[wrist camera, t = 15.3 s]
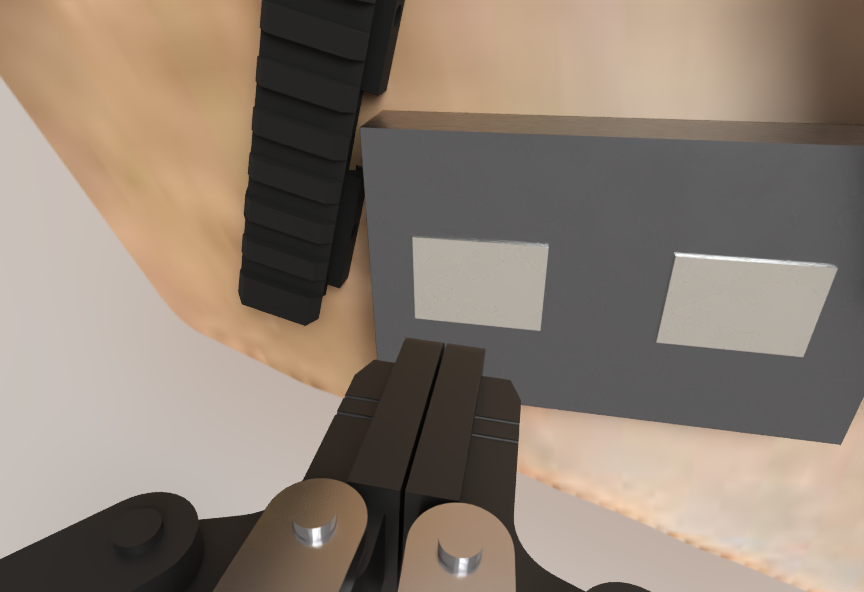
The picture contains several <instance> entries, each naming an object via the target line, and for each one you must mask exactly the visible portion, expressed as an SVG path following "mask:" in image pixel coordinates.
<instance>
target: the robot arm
mask: <svg viewBox="0 0 864 592" xmlns="http://www.w3.org/2000/svg"><path fill="white" fill-rule="evenodd" d="M485 352H486V349H484V348H477V347H470V346H464V345H457V344H450V343H447V345H446V348H445V343H442V342H435V341H428V340H421V339H414V338H407V337H406V338H405V340H404V342H403V345H402V347H401V350H400V352H399V354H398V357H397V359H396V362H395V363H393V362H387V361H380V360H373V361H372V362H371V363H369V364H368V365H367V366H366V367H364V368H363V369H362V370H360V371H359V372H358V373H357V374H355V376H354V378H353V380H352V382H351V384H350V386H349V388H348V390H347V392H346V394H345V398H343V400H342V402H341V405H340V406H339V408H338V410H337V415H335V416H334V418H333V420H332V422H331V424H330V426H329V429H328V431H327V433H326V435H325V437H324V439H323V441H322V443H321V445H320V447H319V449H318V451H317V453H316V455H315V457H314V459H313V461H312V463H311V465H310V467H309V469H308V471H307V473H306V475H305V477H304V479H303V480H302V481H301V482H298V483H295V484H293V485H291V486H289V487H287V488H285V489H284V490H283V491H281V492H280V493H279V494H277V496H276V497H274V498H273V499H272V501H271V502H270V503H269V504H268V506H267V507H266V509H265V510H263V511H260V512H256V513H253V514H247V515H241V516H231V517H223V518H211V519H201V520H198V516H197V512H196V510H195V508H194V507H193V505H192V504H191V503H190V502H189V501H188V500H186V499H185V498H183V497H181V496H179V495H177V494H172V493H166V492H152V493H146V494H141V495H137V496H134V497H131V498H129V499H126V500H124V501H121V502H119V503H117V504H115V505H113V506H111V507H109V508H107V509H105V510H103V511H100V512H98V513H96V514H94V515H92V516H90V517H88V518H86V519H84V520H82V521H79V522H78V523H75V524H73V525H71V526H69V527H67V528H65V529H63V530H61V531H58V532H56V533H54V534H52V535H50V536H48V537H46V538H44V539H42V540H40V541H38V542H35V543H33V544H31V545H29V546H27V547H25V548H23V549H21V550H19V551H16V552H14V553H12V554H10V555H8V556H6V557H4V558H2V559H0V592H585V591H583V590H581V589H579V588H577V587H576V586H574V585H572V584H570V583H567V582H566V581H564V580H562V579H560V578H558V577H556V576H555V575H553V574H551V573H550V572H548V571H546V570H545V569H544V568H542V567H541V566H540V565H538V564H537V563H536V562H535V561H534V560H533V559H532V558H531V557H530V556H529V554H528V553H527V552H526V551H525V549H524V548H523V546H522V545H521V543H520V541H519V539H518V536H517V534H516V531H515V526H514V503H515V487H516V471H517V456H518V440H519V423H520V409H521V399H520V397H519V395H518V394H517V392H516V390H515V388H514V386H513V384H512V382H511V380H507V379H500V378H493V377H487V376H483V369H484V361H485ZM586 592H650V591H648V590H646V589H644V588H641V587H639V586H636V585H632V584H628V583H622V582H608V583H603V584H600V585H597V586H594V587H592V588H591V589H589V590H588V591H586Z"/></svg>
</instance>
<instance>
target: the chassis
mask: <svg viewBox="0 0 864 592" xmlns="http://www.w3.org/2000/svg"><path fill="white" fill-rule="evenodd" d="M360 136H361V149H362V162H363V176H364V189H365V202H366V216H367V229H368V242H369V255H370V269H371V282H372V295H373V308H374V322H375V335H376V348H377V360H380V361H387V362H393V363H395V362H396V359H397V357H398V354H399V352H400V350H401V347H402V345H403V342H404V340H405V338H406V337H407V338H414V339H421V340H428V341H435V342H442V343H445V348H446V345H447V343H450V344H457V345H464V346H470V347H477V348H484V349H486V352H485V361H484V369H483V376H487V377H493V378H500V379H507V380H511V382H512V384H513V386H514V388H515V390H516V392H517V394H518V395H519V397H520V399H521V405H526V406H534V407H542V408H550V409H558V410H566V411H574V412H582V413H590V414H598V415H606V416H614V417H622V418H630V419H638V420H646V421H654V422H662V423H670V424H678V425H686V426H694V427H703V428H711V429H719V430H727V431H735V432H743V433H751V434H759V435H767V436H775V437H783V438H791V439H799V440H807V441H815V442H823V443H831V444H839V445H841V443H842V441H843V439H844V437H845V435H846V433H847V431H848V429H849V427H850V424H851V422H852V420H853V418H854V416H855V414H856V412H857V410H858V408H859V406H860V403H861V401H862V399H863V397H864V125H839V124H806V123H774V122H741V121H709V120H677V119H644V118H612V117H579V116H547V115H514V114H482V113H450V112H417V111H385V110H383V111H381V112H380V113H379V114H377V115H376V116H375V117H373V118H372V119H371V120H369V121H368V122H367V123H365V124H364V125H363V126H361V127H360Z"/></svg>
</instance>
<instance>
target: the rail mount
mask: <svg viewBox="0 0 864 592" xmlns="http://www.w3.org/2000/svg"><path fill="white" fill-rule="evenodd" d="M404 1H405V0H262V7H261V19H260V28H261V37H260V49H259V56H257V68H256V82H257V85H256V97H255V106H254V107H253V117H252V130H253V134H252V146H251V152H250V154H249V167H248V174H249V182H248V188H247V191H246V194H245V207H244V216H245V230H244V234H243V240H242V253H243V254H242V266H241V269H240V277H239V289H238V293H239V296H240V300H241V303H242V304H243V305H246V306H249V307H252V308H255V309H257V310H260V311H263V312H266V313H269V314H272V315H275V316H278V317H281V318H284V319H287V320H289V321H292V322H295V323H298V324H301V325H304V326H306V325H308V324H309V323H311V322H313V321H315V320H317V319H318V318H319V314H320V308H321V303H322V297H323V296H324V295H326V290H327V285H331V286H334V287H337V288H340V287H341V286H342V285H343V283H344V282H345V280H346V279H347V278H348V275H349V270H350V265H351V260H352V255H353V250H354V245H355V240H356V236H357V231H358V226H359V221H360V216H361V211H362V206H363V201H364V196H365V189H364V176H363V167H361V166H358V165H357V166H356V170H349V165H350V159H351V154H352V148H353V143H354V137H355V132H356V127H357V121H358V116H359V110H360V105H361V99H362V94H363V91H366V92H369V93H372V94H375V95H379V94H381V93H383V92H384V91H386V89H387V84H388V79H389V74H390V70H391V65H392V60H393V55H394V50H395V45H396V40H397V35H398V30H399V26H400V21H401V16H402V11H403V6H404Z"/></svg>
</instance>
